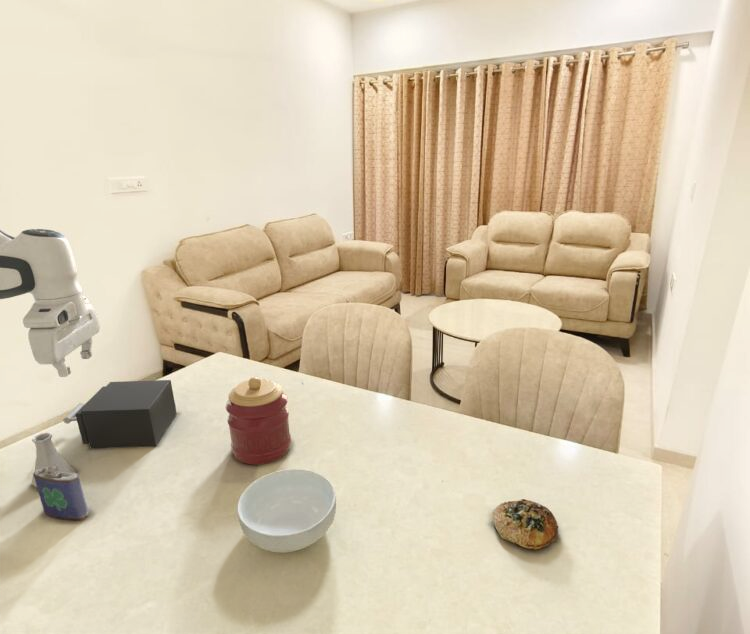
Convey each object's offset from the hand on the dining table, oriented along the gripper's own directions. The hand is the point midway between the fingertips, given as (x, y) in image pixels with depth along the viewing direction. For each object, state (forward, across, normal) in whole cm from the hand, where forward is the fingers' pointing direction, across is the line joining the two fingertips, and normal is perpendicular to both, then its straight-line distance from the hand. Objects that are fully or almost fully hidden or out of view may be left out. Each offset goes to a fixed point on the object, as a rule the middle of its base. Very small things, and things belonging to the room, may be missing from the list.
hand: (76, 366), depth 111 cm
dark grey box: (+18, -2, +9) cm, 20 cm away
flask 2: (+18, +27, +8) cm, 34 cm away
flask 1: (+18, +16, 0) cm, 24 cm away
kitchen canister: (+18, +8, +41) cm, 45 cm away
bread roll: (+18, +36, +91) cm, 99 cm away
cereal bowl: (+18, +34, +50) cm, 63 cm away
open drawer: (+17, -2, +4) cm, 18 cm away
